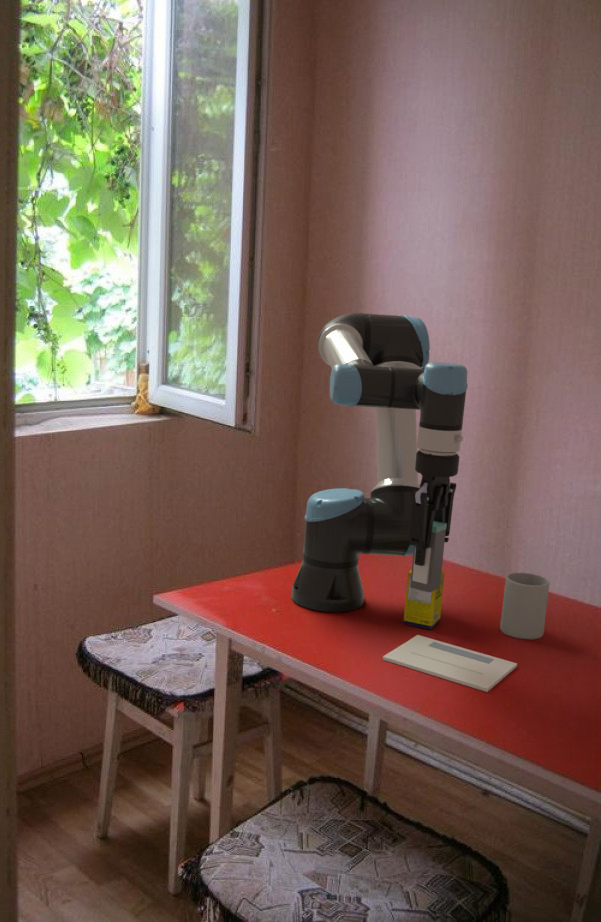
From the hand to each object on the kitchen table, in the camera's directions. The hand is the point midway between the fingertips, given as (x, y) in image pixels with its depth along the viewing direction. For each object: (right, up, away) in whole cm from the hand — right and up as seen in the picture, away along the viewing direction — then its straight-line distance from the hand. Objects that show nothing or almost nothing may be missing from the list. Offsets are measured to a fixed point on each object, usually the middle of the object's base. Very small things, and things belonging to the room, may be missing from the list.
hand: (425, 578), depth 172 cm
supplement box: (+2, -11, +19) cm, 22 cm away
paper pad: (+4, -15, 0) cm, 16 cm away
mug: (+21, -13, +20) cm, 32 cm away
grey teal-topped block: (0, -2, 0) cm, 2 cm away
